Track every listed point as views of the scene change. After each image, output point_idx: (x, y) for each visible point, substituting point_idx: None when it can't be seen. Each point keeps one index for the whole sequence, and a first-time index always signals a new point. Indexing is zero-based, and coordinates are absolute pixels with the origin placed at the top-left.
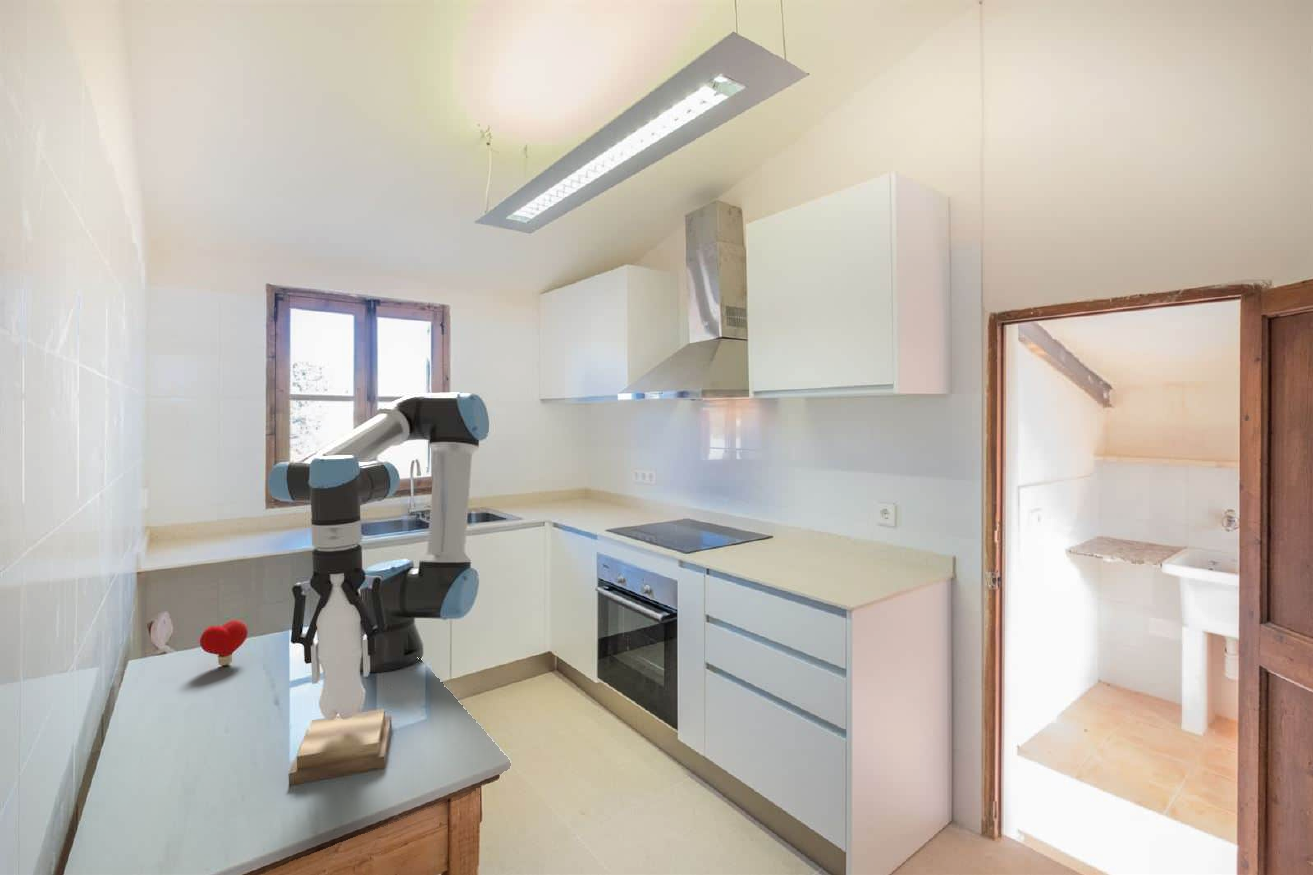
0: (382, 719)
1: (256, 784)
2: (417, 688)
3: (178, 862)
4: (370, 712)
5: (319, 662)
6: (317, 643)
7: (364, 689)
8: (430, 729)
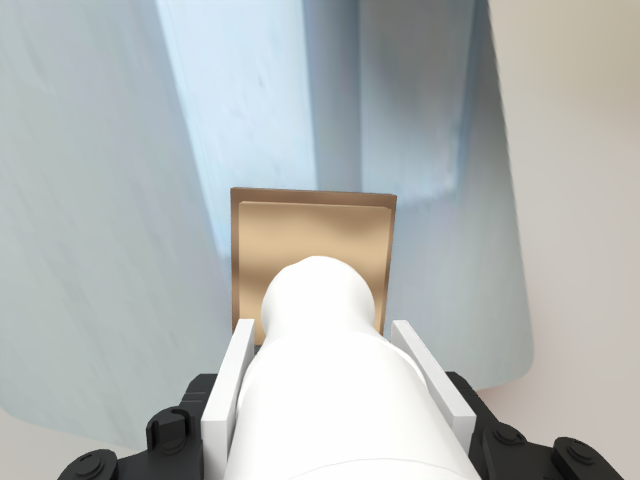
0: (386, 258)
1: (182, 310)
2: (453, 17)
3: (141, 448)
4: (361, 215)
5: (246, 354)
6: (228, 454)
7: (373, 307)
8: (456, 236)
